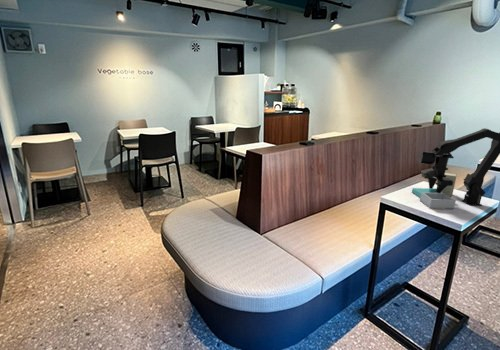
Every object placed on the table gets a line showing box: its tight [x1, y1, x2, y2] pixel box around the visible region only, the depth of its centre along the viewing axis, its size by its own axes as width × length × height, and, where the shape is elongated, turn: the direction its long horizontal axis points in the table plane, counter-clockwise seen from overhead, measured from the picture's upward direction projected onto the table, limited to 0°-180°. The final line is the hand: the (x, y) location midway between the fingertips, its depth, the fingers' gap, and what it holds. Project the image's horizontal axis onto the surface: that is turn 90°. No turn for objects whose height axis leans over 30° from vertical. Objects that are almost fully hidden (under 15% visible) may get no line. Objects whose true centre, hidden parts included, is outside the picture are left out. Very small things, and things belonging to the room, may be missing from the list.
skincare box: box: [441, 172, 458, 197], centre depth 165 cm, size 6×4×12 cm
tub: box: [419, 192, 457, 210], centre depth 151 cm, size 12×10×5 cm
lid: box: [411, 187, 442, 198], centre depth 162 cm, size 13×11×6 cm
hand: (433, 191), depth 159 cm, fingers open, 7 cm apart
